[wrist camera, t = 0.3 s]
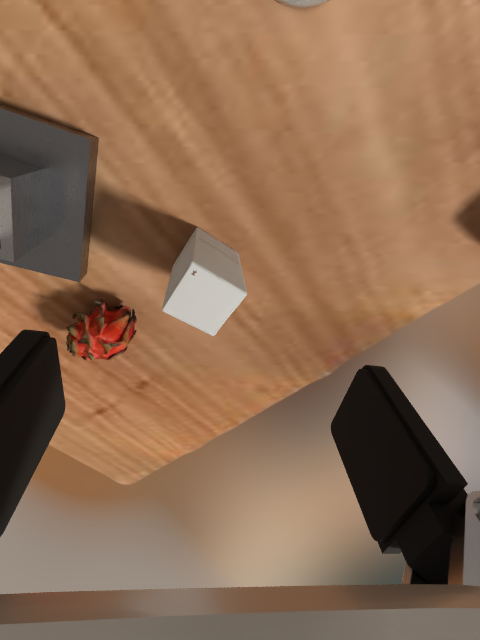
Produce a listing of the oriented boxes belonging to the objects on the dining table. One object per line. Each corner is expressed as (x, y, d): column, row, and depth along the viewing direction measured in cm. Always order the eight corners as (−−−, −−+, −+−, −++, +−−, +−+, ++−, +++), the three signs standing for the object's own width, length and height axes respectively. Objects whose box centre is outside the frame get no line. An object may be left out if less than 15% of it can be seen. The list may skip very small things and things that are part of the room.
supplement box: (171, 266, 46) (158, 310, 35) (197, 224, 43) (191, 259, 32) (213, 291, 49) (213, 338, 38) (240, 253, 46) (249, 293, 35)
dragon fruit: (77, 328, 52) (136, 291, 51) (100, 372, 51) (161, 336, 51) (38, 326, 44) (109, 282, 43) (65, 380, 43) (138, 336, 42)
